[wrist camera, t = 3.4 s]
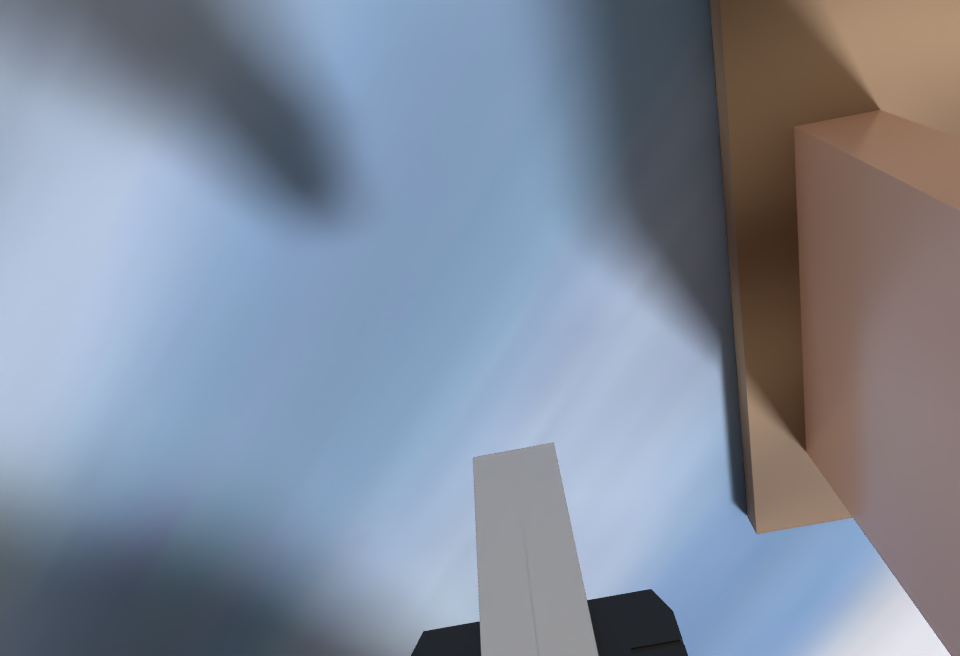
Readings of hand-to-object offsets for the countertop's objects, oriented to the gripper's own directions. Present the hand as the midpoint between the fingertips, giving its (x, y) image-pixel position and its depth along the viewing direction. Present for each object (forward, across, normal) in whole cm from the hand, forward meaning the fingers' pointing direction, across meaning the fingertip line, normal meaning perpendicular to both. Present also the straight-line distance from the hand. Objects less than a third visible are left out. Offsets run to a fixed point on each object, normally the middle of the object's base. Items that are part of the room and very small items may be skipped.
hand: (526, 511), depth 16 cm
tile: (+7, -9, 0) cm, 11 cm away
